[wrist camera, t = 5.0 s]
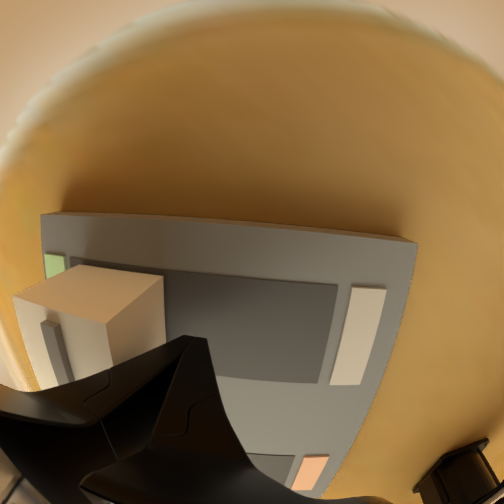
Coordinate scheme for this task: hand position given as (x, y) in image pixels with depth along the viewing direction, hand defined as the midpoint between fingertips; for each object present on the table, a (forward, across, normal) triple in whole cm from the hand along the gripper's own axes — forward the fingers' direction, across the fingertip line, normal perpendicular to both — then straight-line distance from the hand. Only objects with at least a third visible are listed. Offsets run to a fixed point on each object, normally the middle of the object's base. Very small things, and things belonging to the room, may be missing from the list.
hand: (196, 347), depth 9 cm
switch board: (+3, 0, +5) cm, 6 cm away
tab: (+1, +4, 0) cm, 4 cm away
